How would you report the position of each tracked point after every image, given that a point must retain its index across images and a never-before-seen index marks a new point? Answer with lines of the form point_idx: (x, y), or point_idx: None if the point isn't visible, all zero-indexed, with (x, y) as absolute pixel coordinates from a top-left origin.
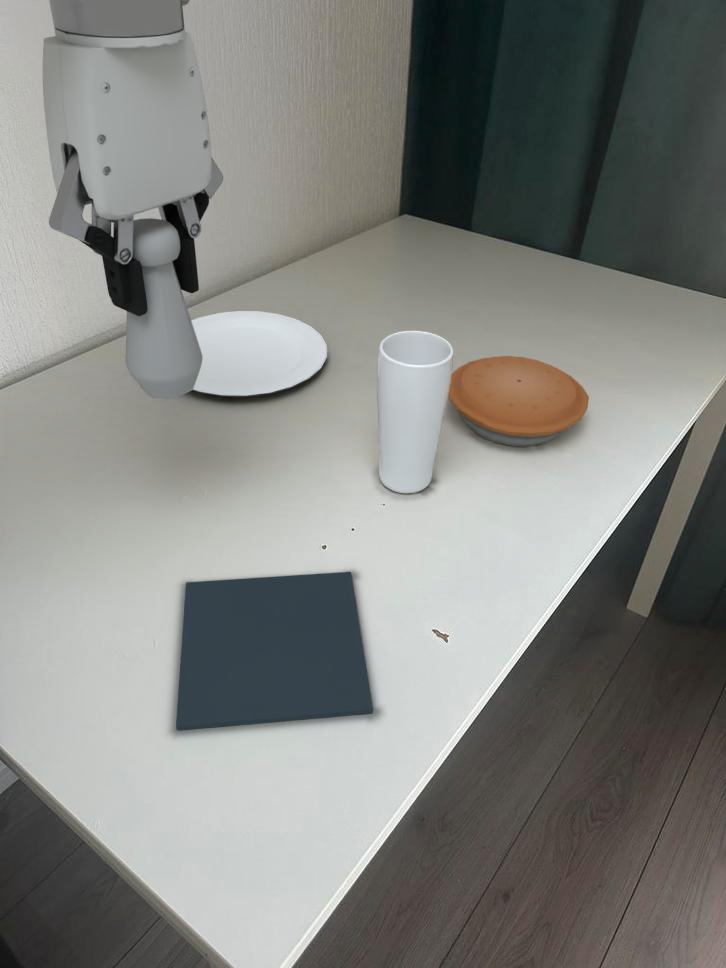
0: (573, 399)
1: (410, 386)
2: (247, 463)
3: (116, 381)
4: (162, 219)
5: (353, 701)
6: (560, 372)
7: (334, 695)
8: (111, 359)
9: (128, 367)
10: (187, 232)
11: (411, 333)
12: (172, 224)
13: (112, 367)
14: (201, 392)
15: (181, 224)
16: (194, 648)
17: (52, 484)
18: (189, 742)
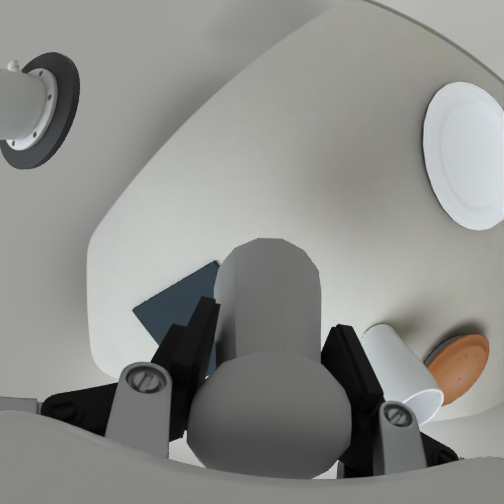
0: (443, 404)
1: None
2: (360, 227)
3: (407, 64)
4: (379, 425)
5: None
6: (469, 388)
7: None
8: (427, 48)
9: (222, 263)
10: (340, 463)
11: (441, 396)
12: (360, 445)
13: (419, 53)
14: (423, 148)
15: (354, 462)
16: (172, 295)
17: (264, 94)
18: (132, 316)
